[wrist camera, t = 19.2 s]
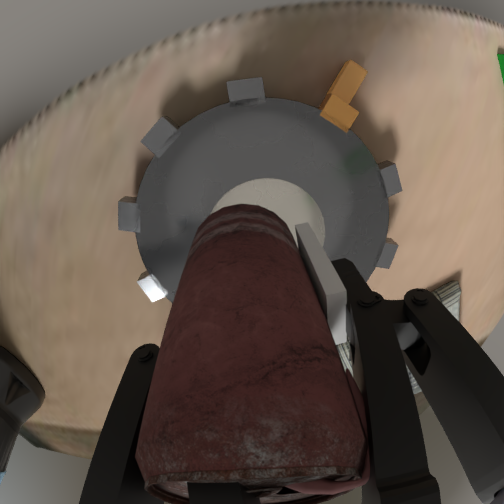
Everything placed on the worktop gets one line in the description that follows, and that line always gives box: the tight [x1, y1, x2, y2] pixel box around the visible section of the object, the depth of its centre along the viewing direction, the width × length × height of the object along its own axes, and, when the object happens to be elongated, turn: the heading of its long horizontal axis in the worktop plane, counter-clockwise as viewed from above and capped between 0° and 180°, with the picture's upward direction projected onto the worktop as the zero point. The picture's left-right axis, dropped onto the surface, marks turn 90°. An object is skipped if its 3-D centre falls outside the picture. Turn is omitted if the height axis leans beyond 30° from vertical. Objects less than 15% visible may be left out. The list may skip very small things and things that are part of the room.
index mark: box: [326, 60, 368, 105], centre depth 15 cm, size 3×1×1 cm, turn 152°
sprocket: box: [118, 77, 402, 303], centre depth 17 cm, size 19×20×5 cm
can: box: [135, 204, 370, 504], centre depth 11 cm, size 6×6×14 cm
